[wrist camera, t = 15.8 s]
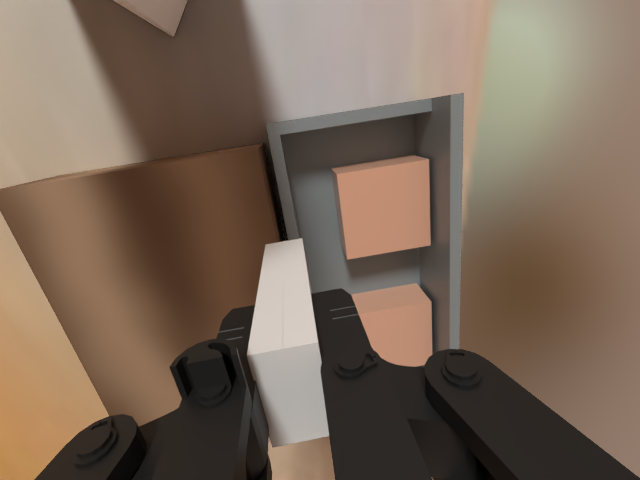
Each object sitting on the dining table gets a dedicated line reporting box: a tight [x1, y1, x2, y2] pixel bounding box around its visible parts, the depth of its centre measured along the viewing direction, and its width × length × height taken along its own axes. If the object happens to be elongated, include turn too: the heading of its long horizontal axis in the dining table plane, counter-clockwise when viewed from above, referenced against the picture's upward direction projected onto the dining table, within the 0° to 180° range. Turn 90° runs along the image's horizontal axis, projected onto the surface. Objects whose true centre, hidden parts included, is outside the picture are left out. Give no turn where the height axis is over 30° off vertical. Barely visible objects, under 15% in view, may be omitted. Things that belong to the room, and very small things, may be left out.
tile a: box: [351, 283, 432, 367], centre depth 22 cm, size 5×5×2 cm
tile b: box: [331, 155, 431, 260], centre depth 19 cm, size 5×5×2 cm
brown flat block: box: [0, 143, 284, 426], centre depth 20 cm, size 12×18×4 cm, turn 9°
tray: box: [266, 93, 464, 367], centre depth 20 cm, size 9×20×5 cm, turn 9°
